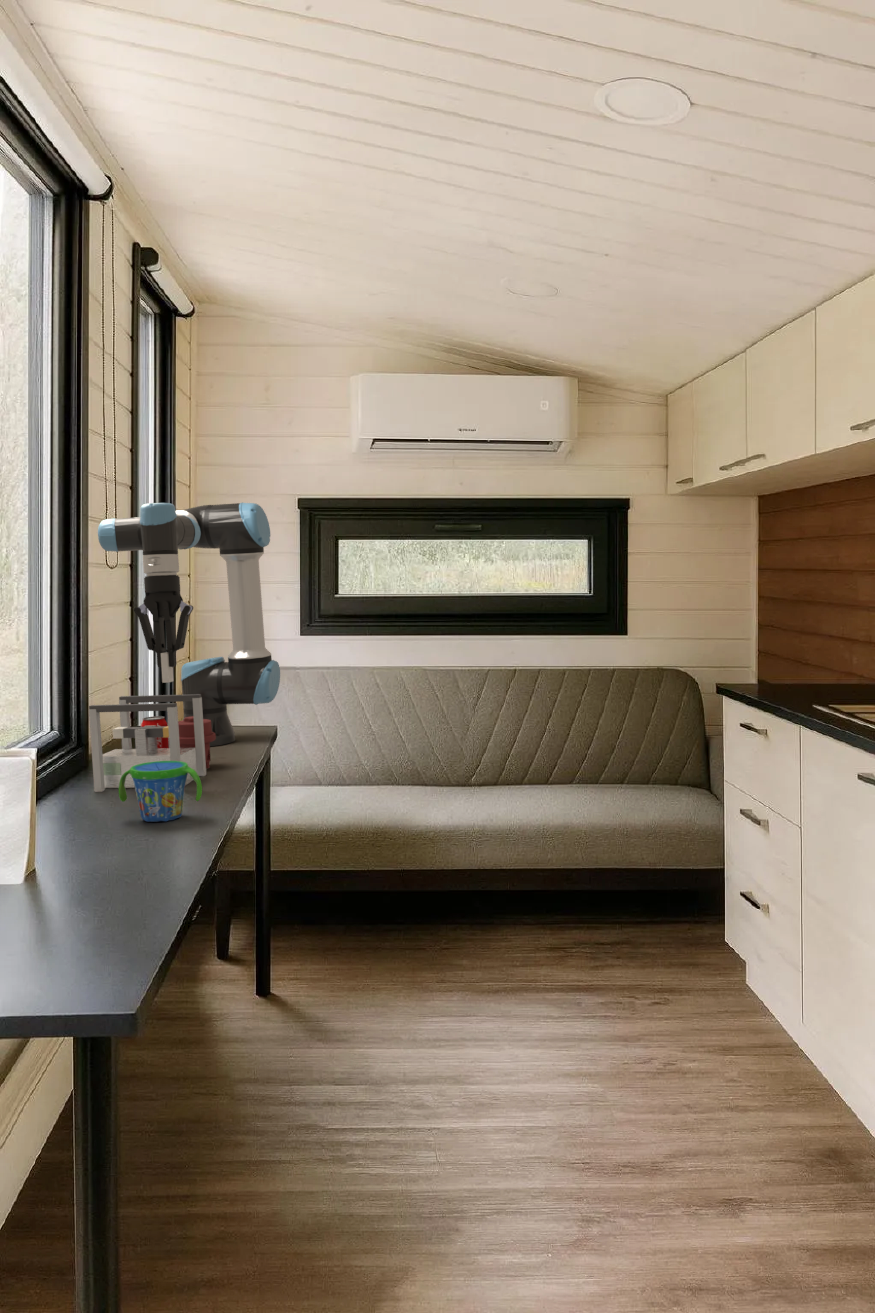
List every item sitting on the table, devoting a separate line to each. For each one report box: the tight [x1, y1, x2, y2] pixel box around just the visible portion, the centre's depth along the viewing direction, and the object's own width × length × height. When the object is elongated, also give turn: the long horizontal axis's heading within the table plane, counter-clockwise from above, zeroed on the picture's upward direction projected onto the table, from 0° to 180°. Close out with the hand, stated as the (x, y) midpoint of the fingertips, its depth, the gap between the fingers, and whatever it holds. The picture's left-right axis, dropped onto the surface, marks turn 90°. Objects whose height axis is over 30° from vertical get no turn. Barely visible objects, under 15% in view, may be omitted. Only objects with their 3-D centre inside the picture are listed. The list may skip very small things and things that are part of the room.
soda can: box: [140, 715, 170, 748], centre depth 239 cm, size 6×6×12 cm
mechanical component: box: [178, 716, 216, 770], centre depth 235 cm, size 12×10×10 cm
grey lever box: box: [102, 725, 197, 789], centre depth 220 cm, size 9×19×12 cm, turn 84°
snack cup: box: [118, 761, 203, 823], centre depth 187 cm, size 16×10×10 cm
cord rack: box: [88, 694, 207, 793], centre depth 220 cm, size 17×19×19 cm
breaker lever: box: [111, 726, 169, 740], centre depth 219 cm, size 3×14×2 cm, turn 84°
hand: (167, 681), depth 218 cm, fingers closed
